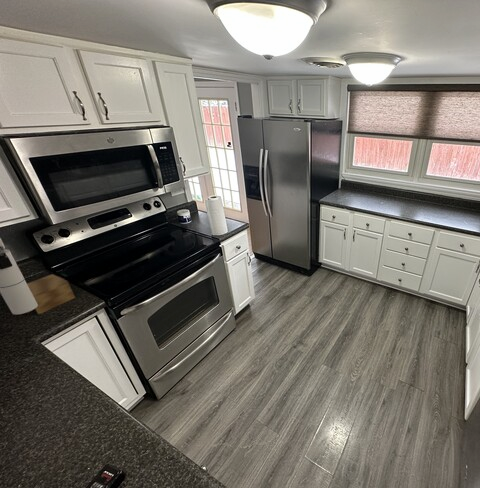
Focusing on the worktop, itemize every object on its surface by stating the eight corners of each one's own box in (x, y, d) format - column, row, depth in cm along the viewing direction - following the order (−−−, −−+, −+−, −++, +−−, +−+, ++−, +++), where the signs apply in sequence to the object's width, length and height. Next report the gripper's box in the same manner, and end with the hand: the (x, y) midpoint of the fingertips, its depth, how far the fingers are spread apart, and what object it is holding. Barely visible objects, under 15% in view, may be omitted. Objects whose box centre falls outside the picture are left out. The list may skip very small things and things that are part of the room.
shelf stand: (38, 314, 121) (29, 296, 116) (23, 305, 126) (13, 288, 121) (75, 297, 132) (67, 281, 128) (60, 290, 137) (52, 274, 133)
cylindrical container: (14, 316, 101) (-19, 260, 91) (10, 309, 105) (-23, 254, 94) (40, 307, 107) (11, 252, 96) (34, 301, 110) (6, 247, 100)
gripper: (-51, 219, 90) (-24, 264, 97) (-30, 228, 84) (-3, 275, 91) (-19, 213, 96) (4, 256, 104) (3, 221, 90) (26, 266, 97)
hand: (1, 264), depth 97 cm, fingers closed on cylindrical container, 7 cm apart
